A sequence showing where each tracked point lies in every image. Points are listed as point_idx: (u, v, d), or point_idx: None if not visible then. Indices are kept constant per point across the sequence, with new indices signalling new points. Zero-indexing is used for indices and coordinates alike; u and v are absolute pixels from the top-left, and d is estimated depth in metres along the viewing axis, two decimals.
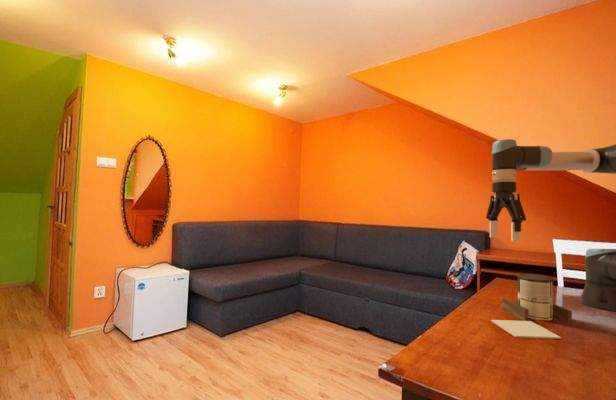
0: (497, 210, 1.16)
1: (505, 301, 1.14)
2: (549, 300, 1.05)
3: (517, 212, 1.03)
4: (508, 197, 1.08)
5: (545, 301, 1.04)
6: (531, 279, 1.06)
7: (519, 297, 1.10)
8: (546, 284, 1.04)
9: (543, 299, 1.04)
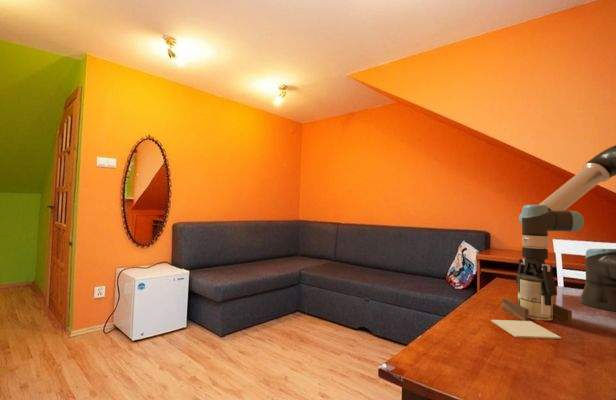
0: None
1: (505, 301, 1.14)
2: None
3: (548, 286, 1.01)
4: (540, 266, 1.06)
5: None
6: (531, 279, 1.06)
7: (519, 297, 1.10)
8: None
9: None
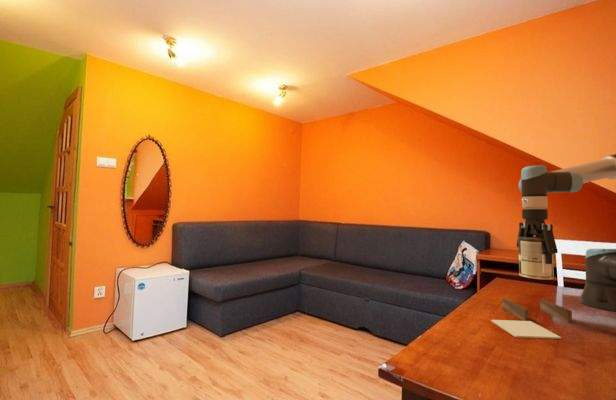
0: None
1: (505, 301, 1.14)
2: None
3: (549, 244, 1.02)
4: (540, 226, 1.06)
5: None
6: (531, 239, 1.06)
7: (520, 258, 1.10)
8: None
9: None
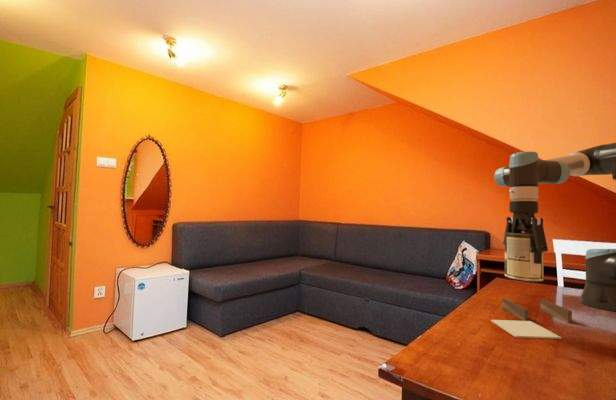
0: None
1: (505, 301, 1.14)
2: None
3: (538, 241, 0.89)
4: (529, 220, 0.93)
5: None
6: (519, 235, 0.93)
7: (506, 257, 0.97)
8: None
9: None
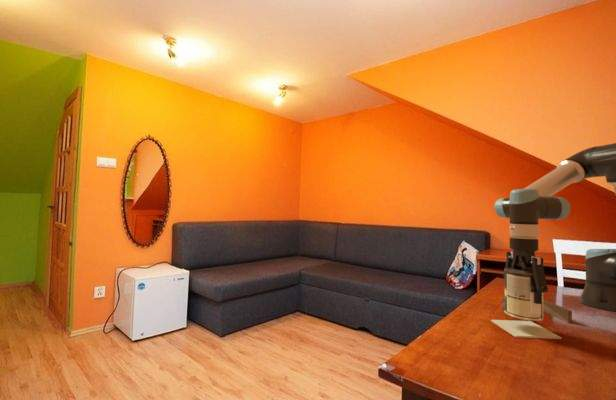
0: None
1: None
2: None
3: (538, 282, 0.88)
4: (529, 258, 0.92)
5: None
6: (519, 273, 0.93)
7: (506, 294, 0.97)
8: None
9: None
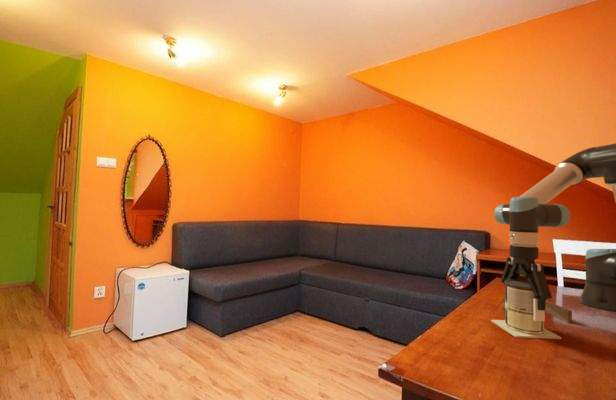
0: (515, 276, 1.00)
1: None
2: None
3: (541, 288, 0.87)
4: (529, 266, 0.92)
5: None
6: (519, 287, 0.93)
7: (507, 307, 0.96)
8: None
9: None
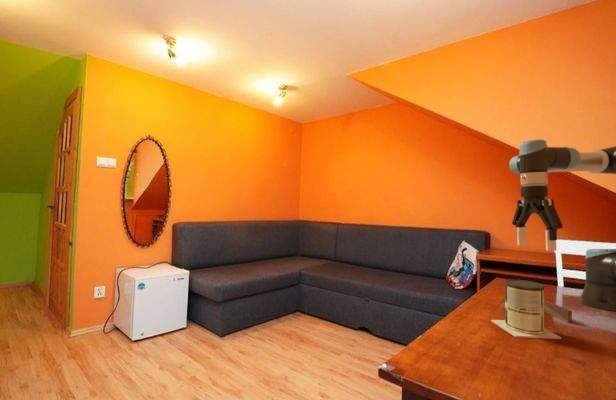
0: (526, 216, 1.08)
1: None
2: (540, 311, 0.91)
3: (552, 219, 0.95)
4: (540, 202, 1.00)
5: (535, 312, 0.91)
6: (519, 287, 0.93)
7: (507, 307, 0.96)
8: (536, 293, 0.91)
9: (533, 310, 0.91)
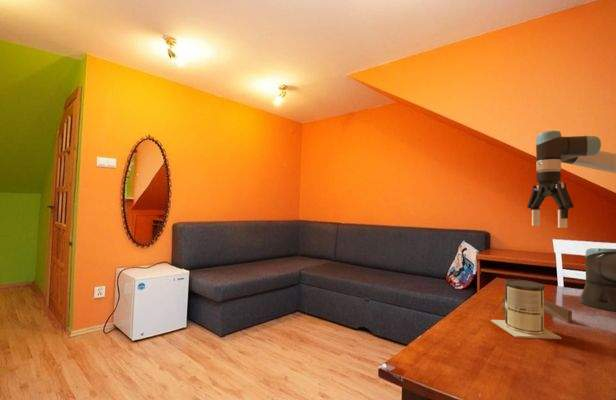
0: (540, 199, 1.21)
1: None
2: (540, 311, 0.91)
3: (565, 200, 1.08)
4: (554, 186, 1.13)
5: (535, 312, 0.91)
6: (519, 286, 0.93)
7: (507, 307, 0.96)
8: (536, 293, 0.91)
9: (533, 310, 0.91)
